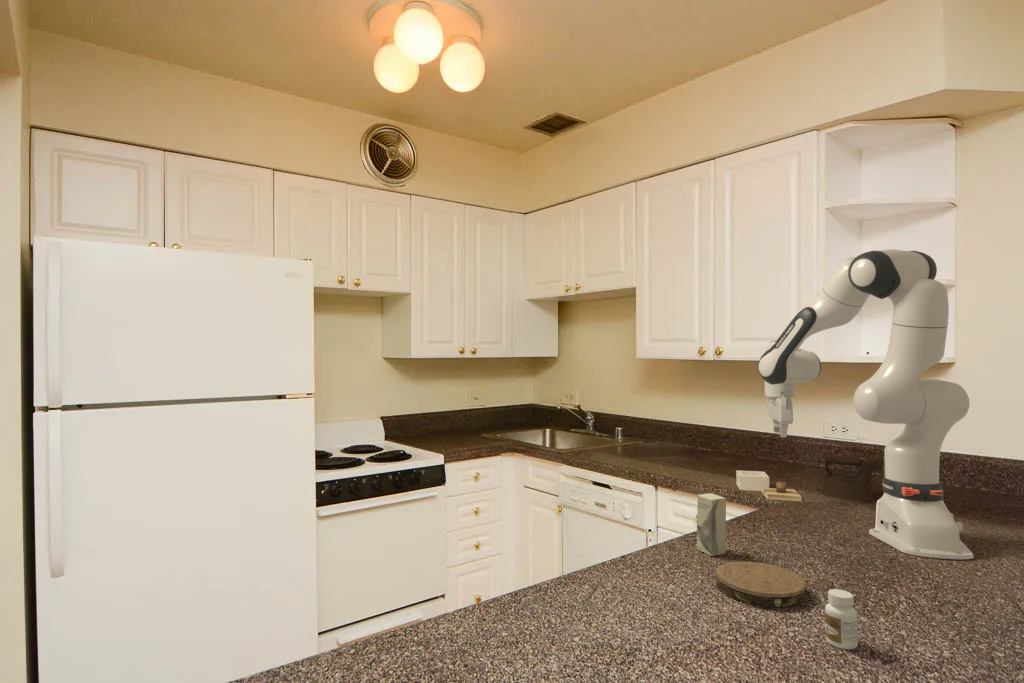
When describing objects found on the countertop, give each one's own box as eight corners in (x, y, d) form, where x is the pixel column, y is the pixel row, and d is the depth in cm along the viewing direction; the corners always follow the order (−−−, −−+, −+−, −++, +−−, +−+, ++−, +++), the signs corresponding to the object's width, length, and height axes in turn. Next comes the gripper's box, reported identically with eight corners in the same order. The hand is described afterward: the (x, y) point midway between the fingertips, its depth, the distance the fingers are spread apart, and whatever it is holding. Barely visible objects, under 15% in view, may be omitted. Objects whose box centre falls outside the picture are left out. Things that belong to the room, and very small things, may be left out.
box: (696, 549, 131) (695, 494, 132) (710, 547, 133) (710, 492, 133) (712, 557, 126) (711, 499, 127) (727, 554, 128) (726, 497, 128)
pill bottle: (819, 636, 91) (818, 588, 91) (845, 635, 91) (845, 587, 91) (836, 650, 87) (835, 599, 87) (864, 649, 87) (863, 599, 87)
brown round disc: (702, 577, 116) (702, 562, 116) (777, 575, 117) (777, 560, 117) (739, 612, 100) (739, 595, 100) (825, 609, 101) (825, 592, 101)
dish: (769, 492, 185) (769, 477, 185) (740, 490, 188) (739, 475, 188) (764, 486, 194) (764, 471, 194) (736, 484, 196) (736, 470, 196)
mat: (802, 502, 173) (802, 500, 173) (767, 500, 176) (767, 498, 176) (794, 494, 183) (794, 493, 183) (761, 492, 185) (761, 491, 185)
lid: (801, 500, 174) (801, 486, 174) (767, 498, 176) (767, 485, 176) (794, 493, 183) (794, 480, 183) (762, 491, 185) (762, 478, 185)
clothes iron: (880, 504, 171) (880, 459, 171) (821, 496, 181) (821, 454, 181) (884, 499, 177) (883, 456, 177) (826, 491, 187) (826, 450, 187)
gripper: (798, 393, 169) (798, 440, 169) (783, 389, 189) (783, 430, 189) (775, 393, 171) (775, 439, 171) (763, 388, 191) (763, 429, 191)
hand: (780, 434), depth 180 cm, fingers open, 8 cm apart
